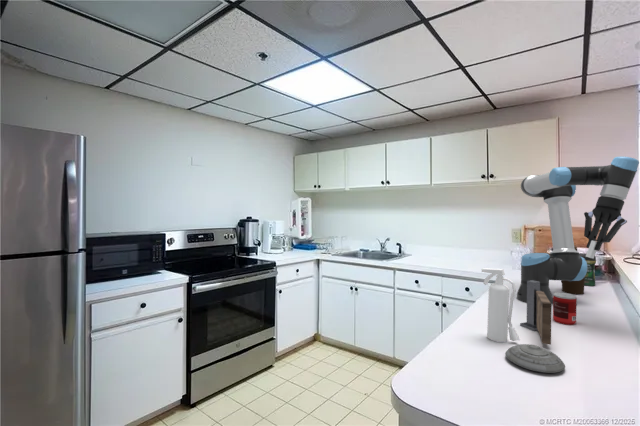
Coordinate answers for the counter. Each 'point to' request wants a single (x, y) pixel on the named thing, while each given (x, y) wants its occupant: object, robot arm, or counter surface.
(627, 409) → the counter surface
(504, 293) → the fire extinguisher
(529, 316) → the gate post
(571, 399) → the counter surface
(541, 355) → the flying saucer
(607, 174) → the robot arm
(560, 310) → the canned food
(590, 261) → the coffee jar
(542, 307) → the gate
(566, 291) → the olive oil
